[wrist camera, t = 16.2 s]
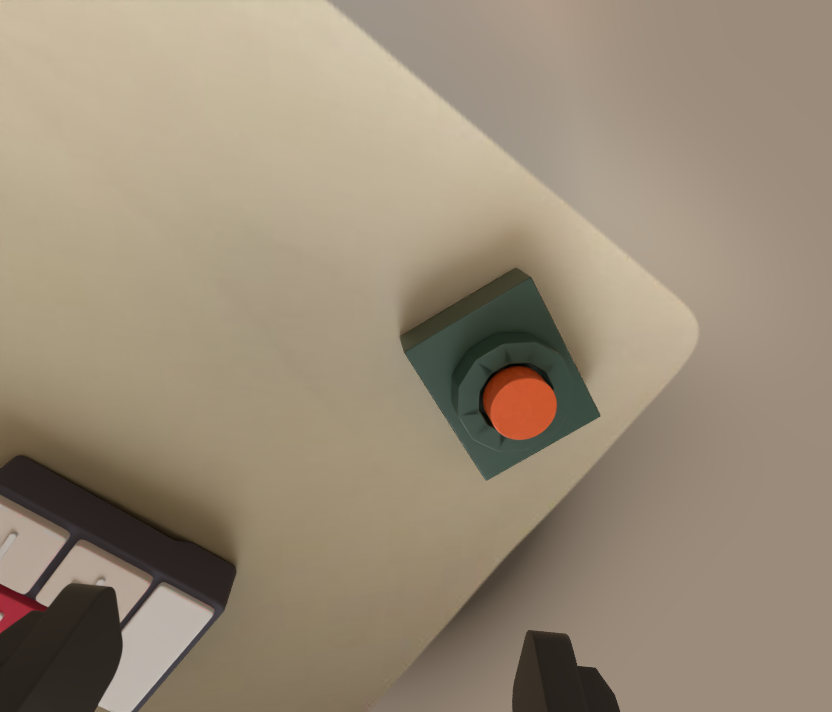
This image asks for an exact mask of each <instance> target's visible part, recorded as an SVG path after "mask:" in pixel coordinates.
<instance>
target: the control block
mask: <svg viewBox="0 0 832 712" xmlns="http://www.w3.org/2000/svg"><path fill="white" fill-rule="evenodd" d="M400 341H401V344H402V347H403V350H404V353H405V355H406V356H407V358H408V359H409V361H410V363H411V364H412V366H413V367H414V369H415V370H416V372H417V374H418V375H419V377H420V378H421V380H422V381H423V383H424V385H425V386H426V388H427V389H428V391H429V392H430V394H431V396H432V397H433V399H434V400H435V402H436V403H437V405H438V407H439V408H440V410H441V411H442V413H443V414H444V416H445V418H446V419H447V421H448V422H449V424H450V425H451V427H452V429H453V430H454V432H455V433H456V435H457V436H458V438H459V440H460V441H461V443H462V444H463V446H464V447H465V449H466V451H467V452H468V454H469V455H470V457H471V458H472V460H473V462H474V463H475V465H476V466H477V468H478V470H479V471H480V473H481V474H482V476H483V477H484V479H485V480H486V481H487V480H489V479H490V478H492V477H494V476H496V475H498V474H499V473H501V472H503V471H505V470H506V469H508V468H510V467H512V466H513V465H515V464H517V463H519V462H521V461H522V460H524V459H526V458H528V457H529V456H531V455H533V454H535V453H536V452H538V451H540V450H542V449H544V448H545V447H547V446H549V445H551V444H552V443H554V442H556V441H558V440H559V439H561V438H563V437H565V436H567V435H568V434H570V433H572V432H574V431H575V430H577V429H579V428H581V427H582V426H584V425H586V424H588V423H590V422H591V421H593V420H595V419H597V418H598V417H600V413H599V411H598V409H597V407H596V405H595V403H594V401H593V399H592V397H591V395H590V393H589V391H588V389H587V387H586V385H585V383H584V381H583V379H582V377H581V375H580V373H579V371H578V369H577V367H576V365H575V363H574V361H573V359H572V357H571V355H570V353H569V351H568V349H567V347H566V345H565V343H564V341H563V339H562V337H561V335H560V333H559V331H558V329H557V327H556V325H555V323H554V321H553V319H552V317H551V315H550V313H549V311H548V309H547V307H546V305H545V303H544V301H543V299H542V297H541V295H540V293H539V291H538V289H537V287H536V285H535V283H534V281H533V279H532V278H531V277H530V276H528V275H527V274H526V273H524V272H523V271H521V270H520V269H518V268H515V269H513V270H511V271H510V272H508V273H506V274H505V275H503V276H501V277H500V278H498V279H496V280H495V281H493V282H491V283H490V284H488V285H486V286H485V287H483V288H481V289H480V290H478V291H476V292H474V293H473V294H471V295H469V296H468V297H466V298H464V299H463V300H461V301H459V302H458V303H456V304H454V305H453V306H451V307H449V308H448V309H446V310H444V311H442V312H441V313H439V314H437V315H436V316H434V317H432V318H431V319H429V320H427V321H426V322H424V323H422V324H421V325H419V326H417V327H416V328H414V329H412V330H410V331H409V332H407V333H405V334H404V335H402V336H400ZM514 366H523V367H528V368H530V369H533V370H534V371H536V372H537V373H538V374H539V375H540V376H541V377H542V378H543V379H544V380H545V381H546V383H547V384H548V385H549V386H550V387H551V388H552V390H553V391H554V393H555V396H556V400H557V409H556V414H555V416H554V419H553V421H552V422H551V424H550V425H549V426H548V427H547V428H546V429H545V430H544V431H543V432H542V433H540V434H539V435H537V436H535V437H532V438H529V439H524V440H516V439H511V438H508V437H505V436H503V435H502V434H500V433H499V432H498V431H497V430H496V429H495V427H494V426H493V424H492V422H491V420H490V418H489V417H488V415H487V413H486V411H485V409H484V406H483V394H484V390H485V387H486V385H487V384H488V382H489V381H490V379H491V378H492V377H493V376H494V375H495V374H497V373H498V372H500V371H501V370H503V369H506V368H509V367H514Z"/></svg>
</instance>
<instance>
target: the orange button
mask: <svg viewBox="0 0 832 712" xmlns="http://www.w3.org/2000/svg"><path fill="white" fill-rule="evenodd" d="M483 406H484V409H485V411H486V413H487V415H488V417H489V418H490V420H491V422H492V424H493V426H494V427H495V429H496V430H497V431H498V432H499V433H500V434H502V435H503V436H505V437H508V438H511V439H516V440H524V439H529V438H532V437H535V436H537V435H539V434H540V433H542V432H543V431H544V430H545V429H546V428H547V427H548V426H549V425H550V424H551V422H552V421H553V419H554V416H555V414H556V409H557V400H556V396H555V393H554V391H553V390H552V388H551V387H550V386H549V385H548V384H547V383H546V381H545V380H544V379H543V378H542V377H541V376H540V375H539V374H538V373H537V372H536V371H534V370H533V369H530V368H528V367H523V366H514V367H509V368H506V369H503V370H501V371H500V372H498V373H497V374H495V375H494V376H493V377H492V378H491V379H490V381H489V382H488V384H487V385H486V387H485V390H484V394H483Z"/></svg>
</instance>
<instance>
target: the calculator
mask: <svg viewBox="0 0 832 712" xmlns="http://www.w3.org/2000/svg"><path fill="white" fill-rule="evenodd" d="M235 575H236V568H235V567H234V566H232V565H230V564H229V563H227V562H225V561H223V560H222V559H220V558H218V557H216V556H214V555H213V554H211V553H209V552H207V551H206V550H204V549H202V548H200V547H198V546H197V545H195V544H193V543H191V542H184V541H175V540H173V539H171V538H169V537H167V536H165V535H164V534H162V533H160V532H158V531H156V530H155V529H153V528H151V527H149V526H147V525H146V524H144V523H142V522H140V521H139V520H137V519H135V518H133V517H131V516H130V515H128V514H126V513H124V512H122V511H121V510H119V509H117V508H115V507H113V506H112V505H110V504H108V503H106V502H105V501H103V500H101V499H99V498H97V497H96V496H94V495H92V494H90V493H88V492H87V491H85V490H83V489H81V488H79V487H78V486H76V485H74V484H72V483H71V482H69V481H67V480H65V479H63V478H62V477H60V476H58V475H56V474H54V473H53V472H51V471H49V470H47V469H45V468H44V467H42V466H40V465H38V464H37V463H35V462H33V461H31V460H29V459H28V458H26V457H23V456H17V457H15V458H13V459H12V460H11V461H10V462H8V463H7V464H6V465H5V466H4V467H2V468H1V469H0V633H1V632H3V631H4V630H5V629H7V628H8V627H10V626H11V625H12V624H14V623H15V622H16V621H18V620H19V619H21V618H22V617H23V616H25V615H26V614H28V613H29V612H30V611H32V610H36V611H46V609H47V608H48V607H49V606H50V604H51V603H52V602H53V600H54V599H55V598H56V597H57V595H58V594H59V593H60V592H61V591H62V589H63V588H64V587H66V586H67V585H69V584H71V583H79V584H89V585H99V586H109V587H113V588H114V589H115V592H116V597H117V604H118V611H119V618H120V625H121V632H122V639H123V650H122V656H121V660H120V663H119V666H118V669H117V671H116V674H115V676H114V678H113V680H112V682H111V683H110V685H109V687H108V688H107V690H106V692H105V694H104V695H103V697H102V699H101V701H100V702H99V704H98V706H100V707H102V708H104V709H107V710H109V711H111V712H138V711H139V710H140V709H141V707H142V706H143V705H144V704H145V703H146V702H147V700H148V699H149V698H150V697H151V696H152V695H153V693H154V692H155V691H156V690H157V689H158V688H159V686H160V685H161V684H162V683H163V682H164V681H165V679H166V678H167V677H168V676H169V675H170V674H171V672H172V671H173V670H174V669H175V668H176V667H177V665H178V664H179V663H180V662H181V661H182V660H183V658H184V657H185V656H186V655H187V654H188V653H189V651H190V650H191V649H192V648H193V647H194V646H195V644H196V643H197V642H198V641H199V640H200V639H201V637H202V636H203V635H204V634H205V633H206V632H207V630H208V629H209V628H210V627H211V626H212V625H213V623H214V622H215V621H216V620H217V619H218V618H219V616H220V615H221V614H222V613H223V611H224V610H225V607H226V604H227V601H228V598H229V594H230V591H231V588H232V585H233V582H234V579H235Z"/></svg>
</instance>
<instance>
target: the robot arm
mask: <svg viewBox="0 0 832 712" xmlns="http://www.w3.org/2000/svg"><path fill="white" fill-rule="evenodd" d="M122 650H123V639H122V632H121V625H120V618H119V611H118V604H117V597H116V592H115V589H114V588H113V587H109V586H99V585H89V584H79V583H71V584H69V585H67V586H66V587H64V588H63V589H62V591H61V592H60V593H59V594H58V595H57V597H56V598H55V599H54V600H53V602H52V603H51V604H50V606H49V607H48V608H47V609H46V611H36V610H32V611H30V612H29V613H28V614H26V615H25V616H23V617H22V618H21V619H19V620H18V621H16V622H15V623H14V624H12V625H11V626H10V627H8V628H7V629H5V630H4V631H3V632H1V633H0V712H94V711H95V709H96V707H97V706H98V704H99V702H100V701H101V699H102V697H103V695H104V694H105V692H106V690H107V688H108V687H109V685H110V683H111V682H112V680H113V678H114V676H115V674H116V671H117V669H118V666H119V663H120V660H121V656H122ZM512 708H513V712H620V710H619V707H618V703H617V700H616V697H615V695H614V693H613V692H612V690H611V689H610V687H609V686H608V685H607V683H606V682H605V680H604V679H603V678H602V676H601V675H600V673H599V672H598V670H597V669H596V668H592V667H582V666H577V663H576V659H575V655H574V651H573V648H572V644H571V641H570V638H569V636H568V635H567V634H563V633H551V632H543V631H532V630H528V631H527V633H526V636H525V640H524V644H523V648H522V652H521V656H520V660H519V664H518V668H517V672H516V676H515V680H514V686H513V699H512Z"/></svg>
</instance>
